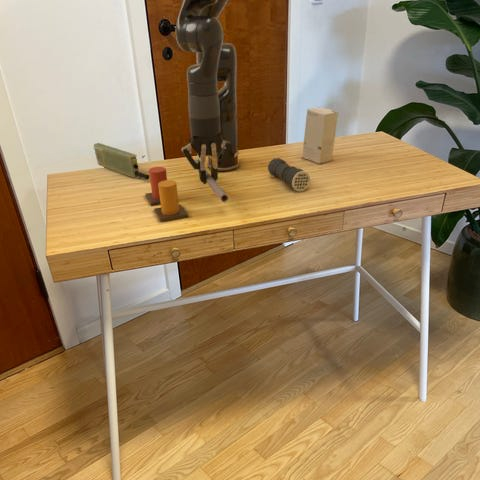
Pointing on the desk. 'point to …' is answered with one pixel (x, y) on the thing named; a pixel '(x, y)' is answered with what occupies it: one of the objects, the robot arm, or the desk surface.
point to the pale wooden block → (319, 134)
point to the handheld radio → (118, 160)
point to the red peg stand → (155, 184)
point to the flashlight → (289, 174)
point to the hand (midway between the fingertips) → (208, 182)
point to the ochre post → (169, 202)
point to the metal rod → (215, 186)
